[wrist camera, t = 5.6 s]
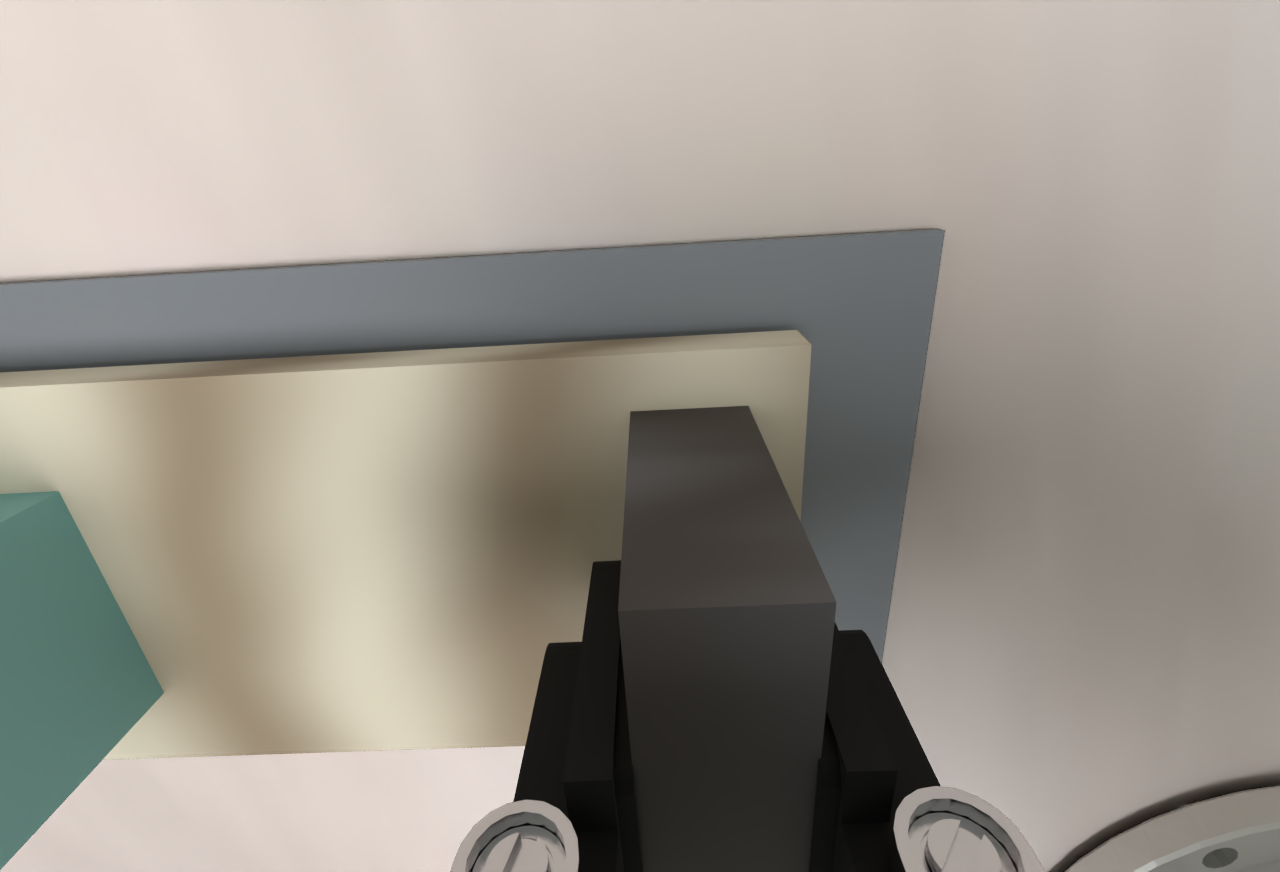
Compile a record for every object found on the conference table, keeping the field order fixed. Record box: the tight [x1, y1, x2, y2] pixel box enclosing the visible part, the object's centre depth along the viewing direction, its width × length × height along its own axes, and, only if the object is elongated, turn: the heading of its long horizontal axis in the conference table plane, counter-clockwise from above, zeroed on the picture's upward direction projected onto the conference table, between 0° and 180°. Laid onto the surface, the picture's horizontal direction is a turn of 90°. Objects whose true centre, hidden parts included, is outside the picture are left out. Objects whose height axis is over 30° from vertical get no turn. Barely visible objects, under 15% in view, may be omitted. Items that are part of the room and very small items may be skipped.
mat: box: [0, 229, 945, 664], centre depth 13 cm, size 33×12×1 cm, turn 93°
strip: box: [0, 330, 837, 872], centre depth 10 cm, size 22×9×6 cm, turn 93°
